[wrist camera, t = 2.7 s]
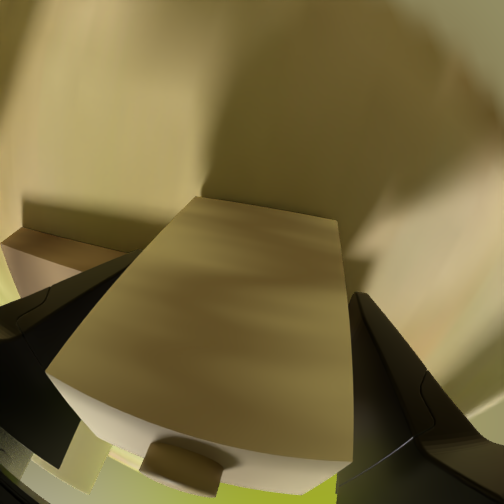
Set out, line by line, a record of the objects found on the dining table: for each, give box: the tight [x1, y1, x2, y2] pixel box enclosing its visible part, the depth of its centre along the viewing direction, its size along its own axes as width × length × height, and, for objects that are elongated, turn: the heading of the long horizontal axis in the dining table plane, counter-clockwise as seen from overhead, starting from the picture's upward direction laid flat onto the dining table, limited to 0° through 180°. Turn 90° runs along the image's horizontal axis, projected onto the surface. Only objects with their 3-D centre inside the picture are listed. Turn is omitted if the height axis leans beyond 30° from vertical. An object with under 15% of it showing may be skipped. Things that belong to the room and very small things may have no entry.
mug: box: [31, 419, 112, 495], centre depth 21 cm, size 9×12×11 cm
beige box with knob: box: [45, 196, 354, 497], centre depth 9 cm, size 5×10×8 cm, turn 174°
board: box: [0, 227, 127, 298], centre depth 13 cm, size 18×7×2 cm, turn 84°
